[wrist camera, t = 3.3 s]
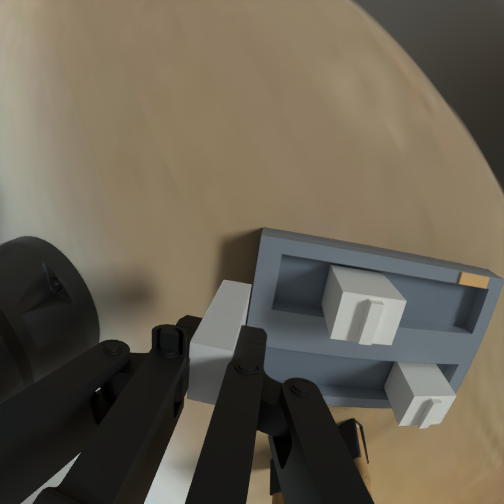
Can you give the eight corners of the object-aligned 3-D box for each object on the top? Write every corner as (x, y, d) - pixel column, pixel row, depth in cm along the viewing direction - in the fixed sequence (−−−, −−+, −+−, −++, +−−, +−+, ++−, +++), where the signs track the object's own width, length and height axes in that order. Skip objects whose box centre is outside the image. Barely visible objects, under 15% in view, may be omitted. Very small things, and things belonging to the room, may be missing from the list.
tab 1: (321, 303, 23) (331, 343, 17) (330, 264, 22) (345, 295, 16) (372, 311, 22) (394, 350, 17) (382, 273, 22) (410, 305, 16)
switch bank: (239, 373, 27) (235, 394, 24) (263, 227, 23) (261, 235, 20) (438, 391, 26) (448, 408, 23) (487, 269, 22) (505, 280, 19)
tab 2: (383, 387, 24) (400, 430, 19) (395, 358, 23) (417, 401, 18) (421, 388, 24) (442, 428, 18) (434, 361, 23) (459, 400, 18)
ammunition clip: (353, 417, 27) (374, 517, 16) (362, 425, 27) (384, 521, 16) (270, 460, 30) (262, 550, 18) (280, 466, 30) (275, 555, 18)
